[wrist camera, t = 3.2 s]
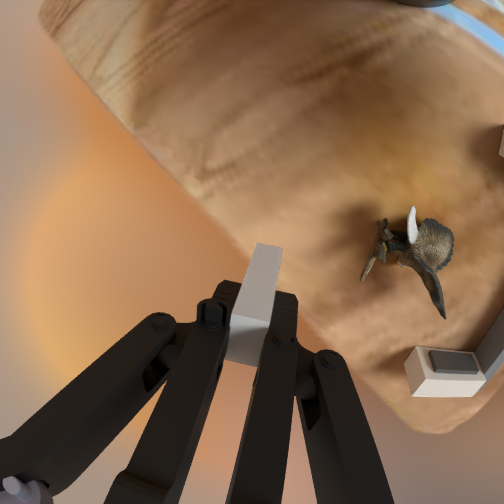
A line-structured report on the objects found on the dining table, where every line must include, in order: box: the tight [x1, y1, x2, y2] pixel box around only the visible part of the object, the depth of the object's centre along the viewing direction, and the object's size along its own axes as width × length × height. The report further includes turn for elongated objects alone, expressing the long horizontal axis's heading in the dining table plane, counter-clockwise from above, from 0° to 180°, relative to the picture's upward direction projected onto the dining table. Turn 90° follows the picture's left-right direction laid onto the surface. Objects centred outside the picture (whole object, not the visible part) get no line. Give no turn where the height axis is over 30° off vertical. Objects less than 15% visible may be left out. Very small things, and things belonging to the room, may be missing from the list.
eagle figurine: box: [360, 206, 454, 319], centre depth 20 cm, size 8×7×9 cm
